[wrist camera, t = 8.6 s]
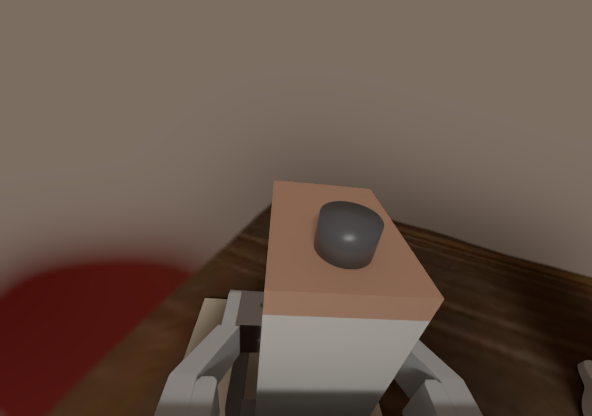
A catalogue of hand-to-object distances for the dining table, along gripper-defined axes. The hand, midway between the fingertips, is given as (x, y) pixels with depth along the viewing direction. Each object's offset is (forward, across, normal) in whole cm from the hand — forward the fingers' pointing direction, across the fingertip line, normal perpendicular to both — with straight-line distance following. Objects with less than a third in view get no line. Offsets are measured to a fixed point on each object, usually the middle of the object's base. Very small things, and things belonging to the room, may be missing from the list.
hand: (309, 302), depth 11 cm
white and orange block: (-1, 0, +7) cm, 7 cm away
